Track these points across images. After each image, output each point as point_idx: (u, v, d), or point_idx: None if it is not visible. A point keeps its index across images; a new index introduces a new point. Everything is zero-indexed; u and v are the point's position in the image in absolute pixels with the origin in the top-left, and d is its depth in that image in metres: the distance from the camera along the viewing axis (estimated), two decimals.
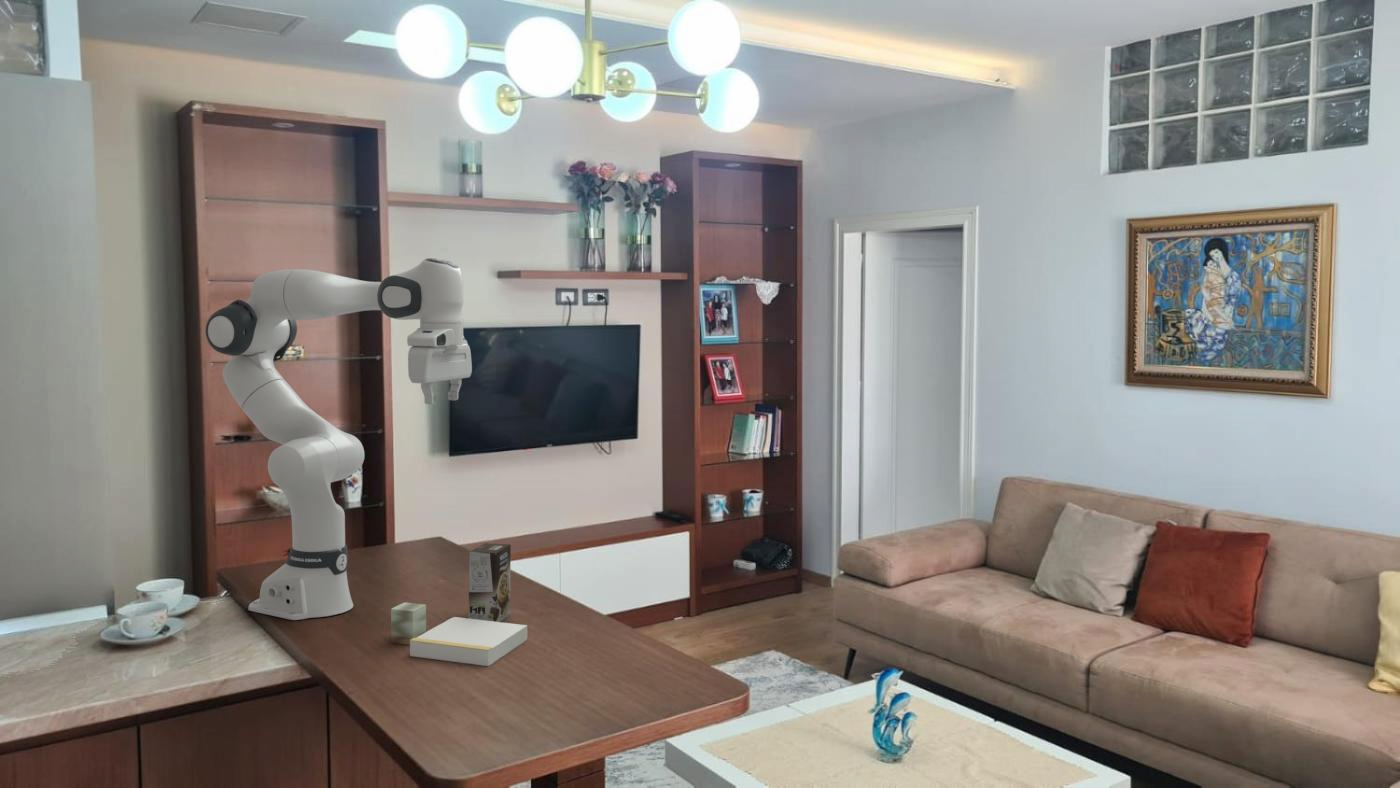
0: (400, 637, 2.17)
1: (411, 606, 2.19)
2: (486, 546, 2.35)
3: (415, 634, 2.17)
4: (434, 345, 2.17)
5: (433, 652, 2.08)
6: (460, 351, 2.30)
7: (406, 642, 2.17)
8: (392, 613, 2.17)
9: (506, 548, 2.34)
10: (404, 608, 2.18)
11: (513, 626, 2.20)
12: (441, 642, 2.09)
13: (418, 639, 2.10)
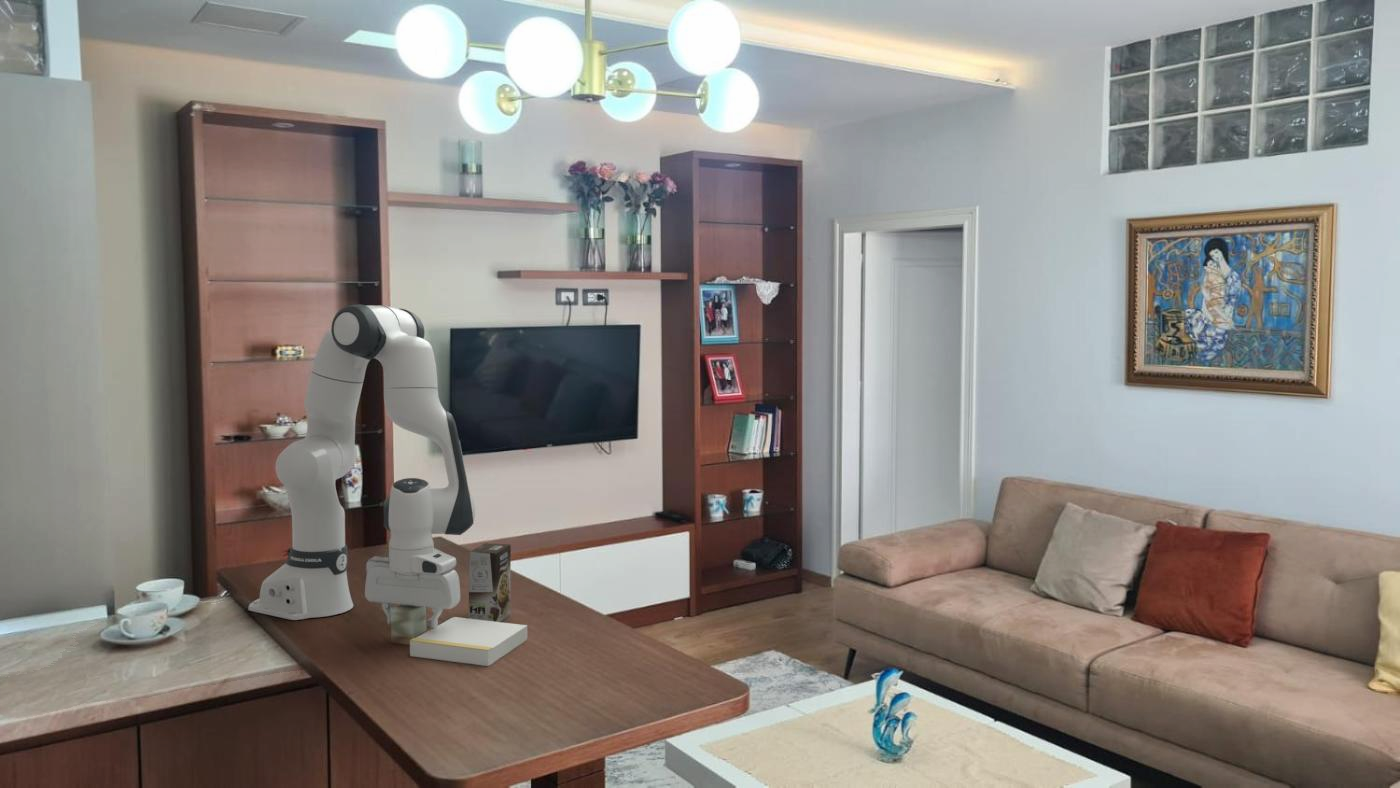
0: (400, 637, 2.17)
1: (411, 606, 2.19)
2: (486, 546, 2.34)
3: (415, 634, 2.17)
4: None
5: (433, 652, 2.08)
6: None
7: (406, 642, 2.17)
8: (392, 613, 2.17)
9: (506, 548, 2.34)
10: (404, 608, 2.18)
11: (513, 626, 2.20)
12: (441, 642, 2.09)
13: (418, 639, 2.10)
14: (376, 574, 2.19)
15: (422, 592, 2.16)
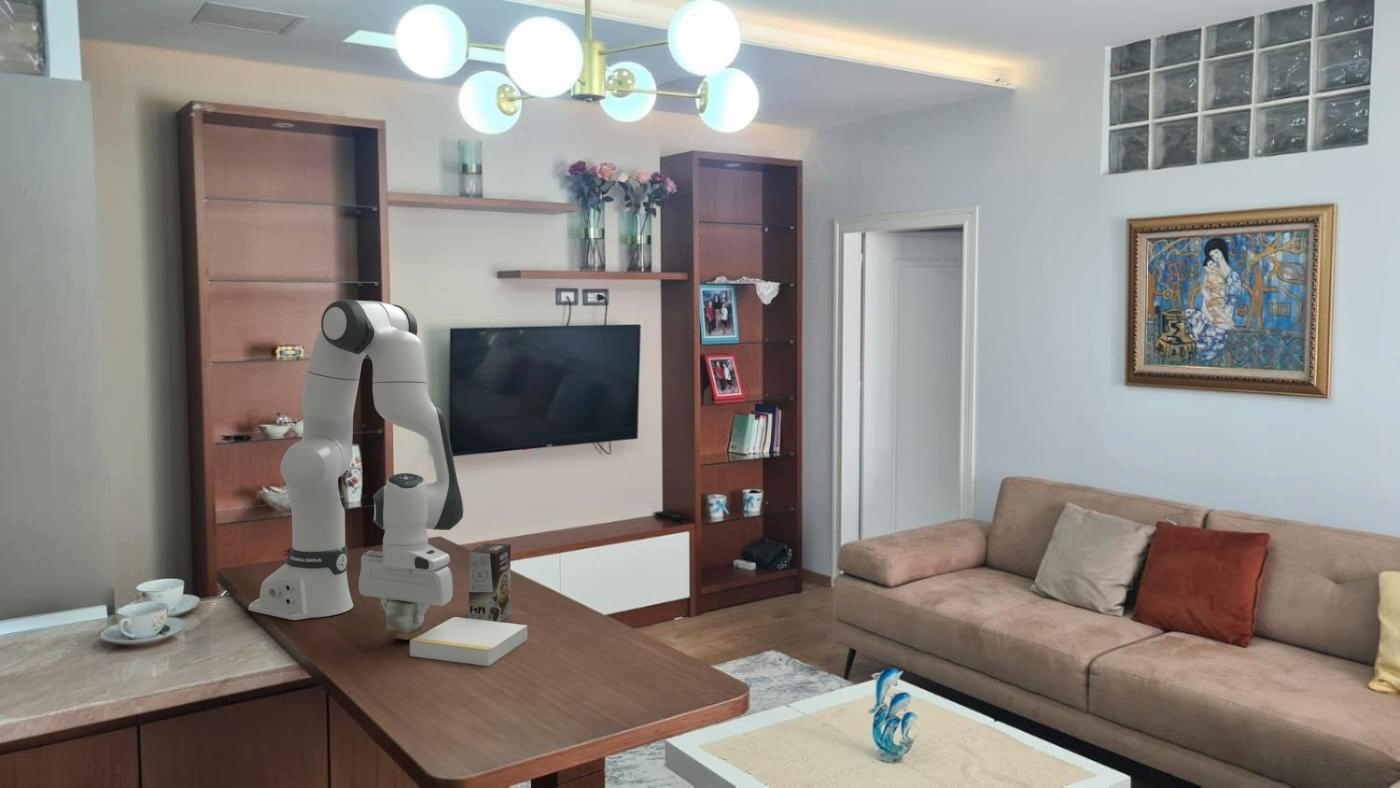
0: (395, 631, 2.17)
1: None
2: (486, 546, 2.35)
3: (410, 629, 2.17)
4: None
5: (433, 652, 2.08)
6: None
7: (401, 636, 2.16)
8: (387, 607, 2.17)
9: (506, 548, 2.34)
10: (400, 602, 2.17)
11: (513, 626, 2.20)
12: (441, 642, 2.09)
13: (418, 639, 2.10)
14: (370, 568, 2.18)
15: (415, 588, 2.15)
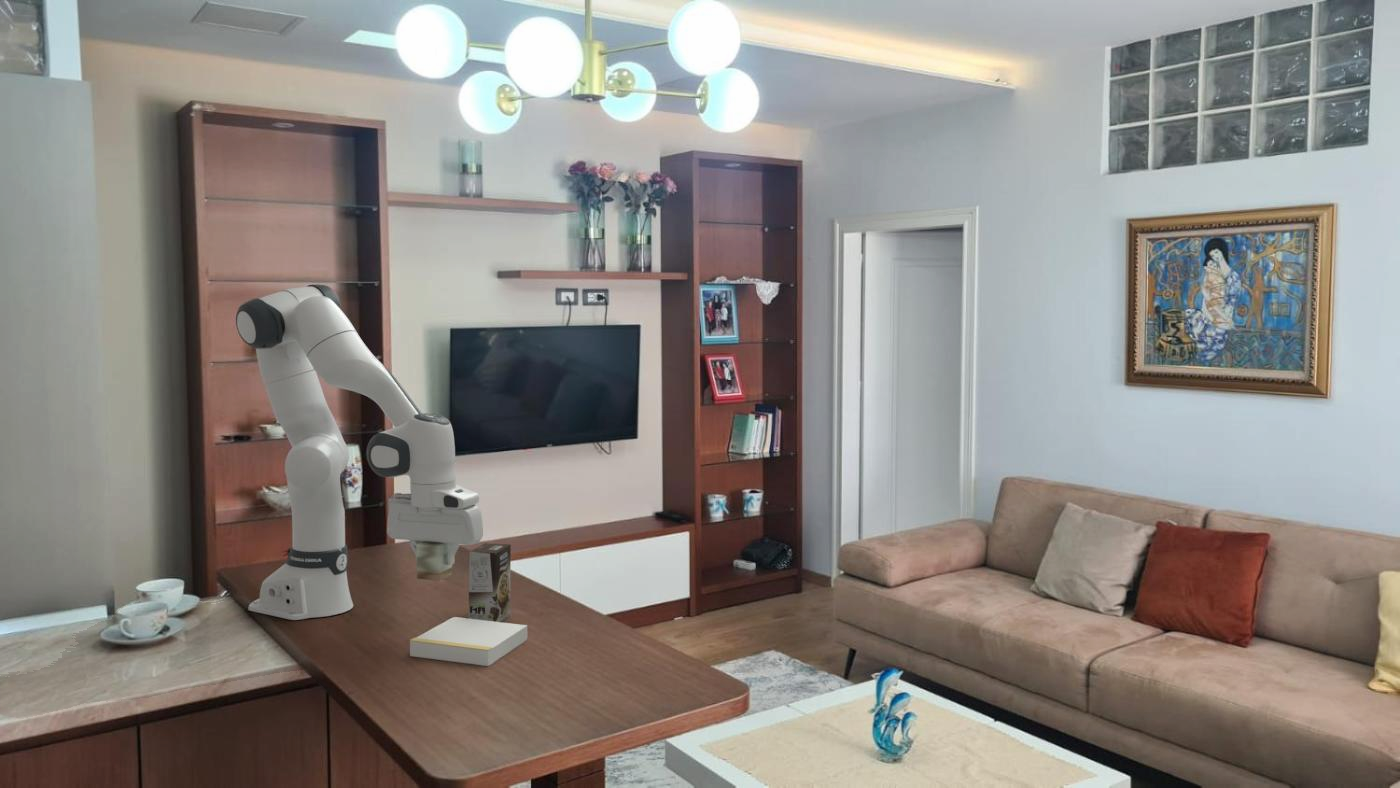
0: (426, 573, 2.13)
1: (436, 542, 2.15)
2: (486, 546, 2.35)
3: (441, 569, 2.13)
4: None
5: (433, 652, 2.08)
6: None
7: (432, 578, 2.13)
8: (417, 548, 2.14)
9: (506, 548, 2.34)
10: (430, 543, 2.14)
11: (513, 626, 2.20)
12: (441, 642, 2.09)
13: (418, 639, 2.10)
14: (398, 510, 2.15)
15: (445, 528, 2.12)
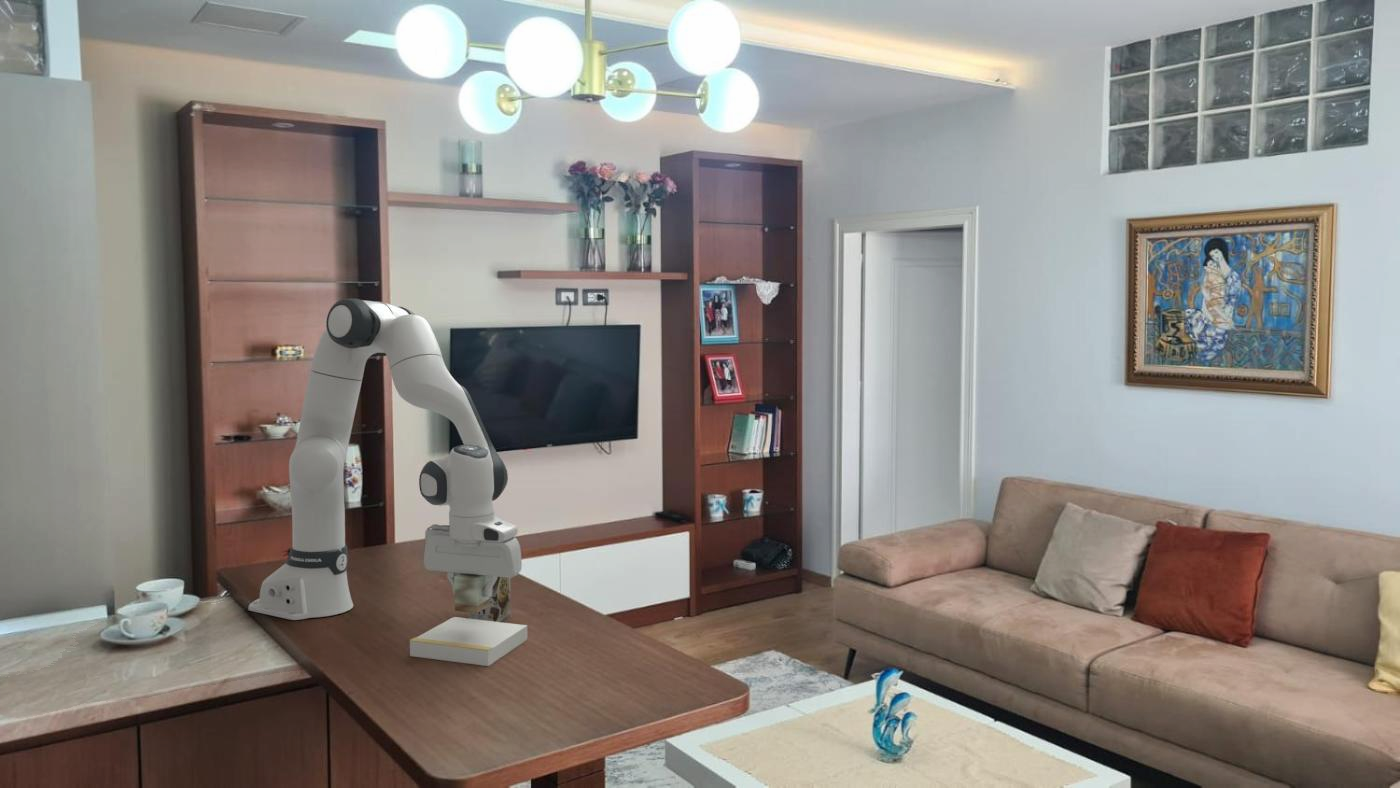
0: (464, 605, 2.13)
1: None
2: None
3: (479, 602, 2.13)
4: None
5: (433, 652, 2.08)
6: None
7: (470, 610, 2.13)
8: (455, 581, 2.13)
9: None
10: (468, 576, 2.13)
11: (513, 626, 2.20)
12: (441, 642, 2.09)
13: (418, 639, 2.10)
14: (435, 542, 2.14)
15: (483, 560, 2.12)
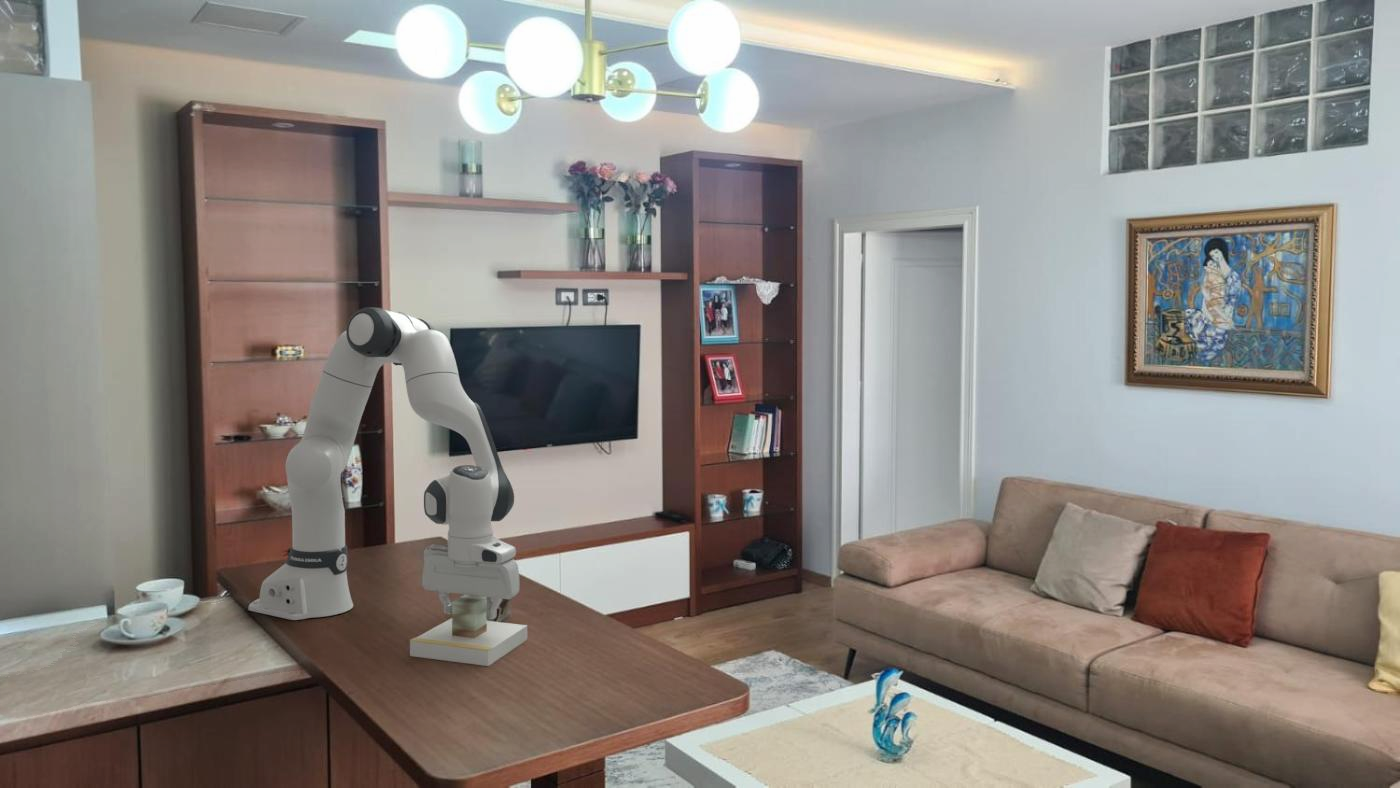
0: (461, 630, 2.13)
1: (472, 599, 2.15)
2: None
3: (476, 627, 2.13)
4: None
5: (433, 652, 2.08)
6: None
7: (467, 635, 2.13)
8: (453, 605, 2.13)
9: None
10: (466, 601, 2.13)
11: (513, 626, 2.20)
12: (441, 642, 2.09)
13: (418, 639, 2.10)
14: (434, 562, 2.14)
15: (481, 581, 2.12)
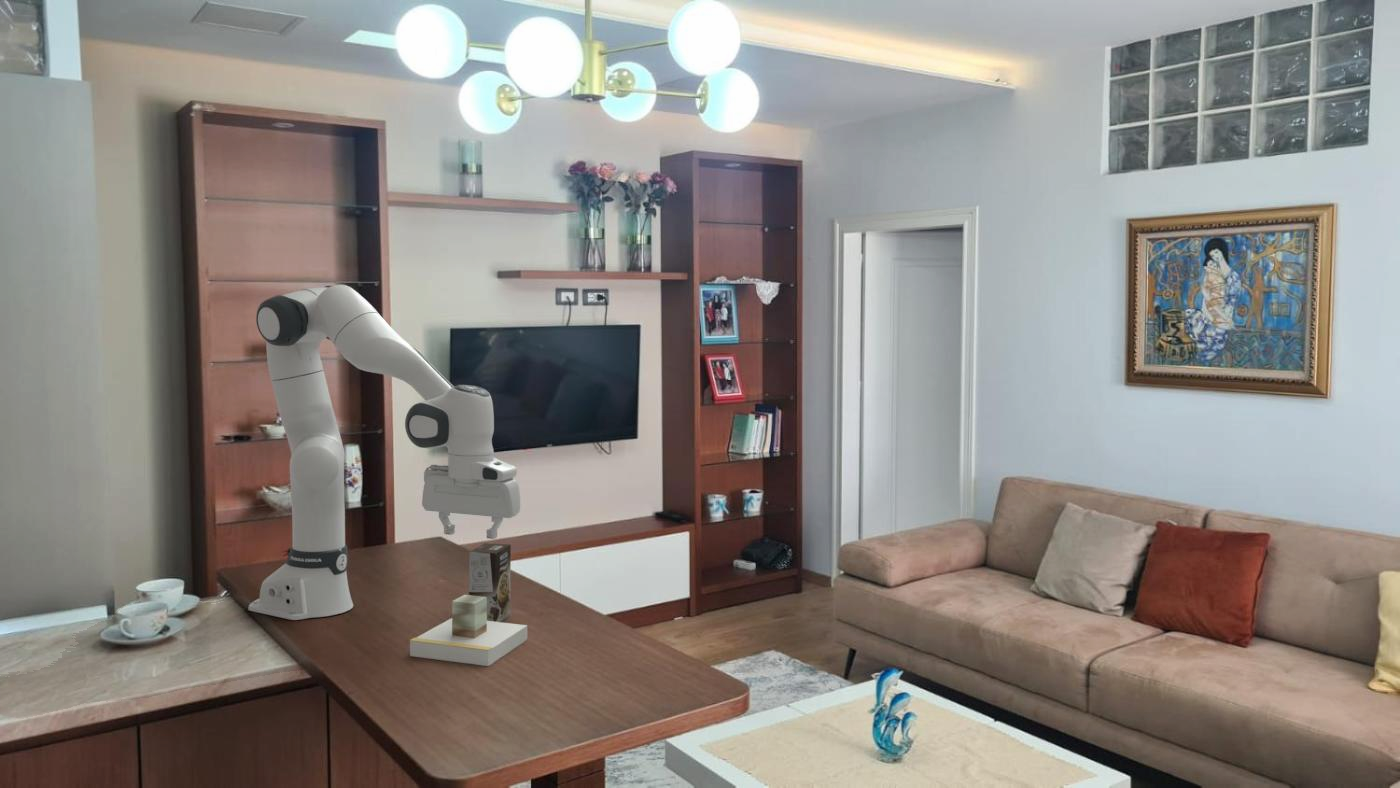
0: (461, 630, 2.13)
1: (472, 599, 2.15)
2: (486, 546, 2.35)
3: (476, 627, 2.13)
4: None
5: (433, 652, 2.08)
6: None
7: (467, 635, 2.13)
8: (453, 605, 2.13)
9: (506, 548, 2.34)
10: (466, 601, 2.13)
11: (513, 626, 2.20)
12: (441, 642, 2.09)
13: (418, 639, 2.10)
14: (434, 482, 2.13)
15: (482, 500, 2.10)
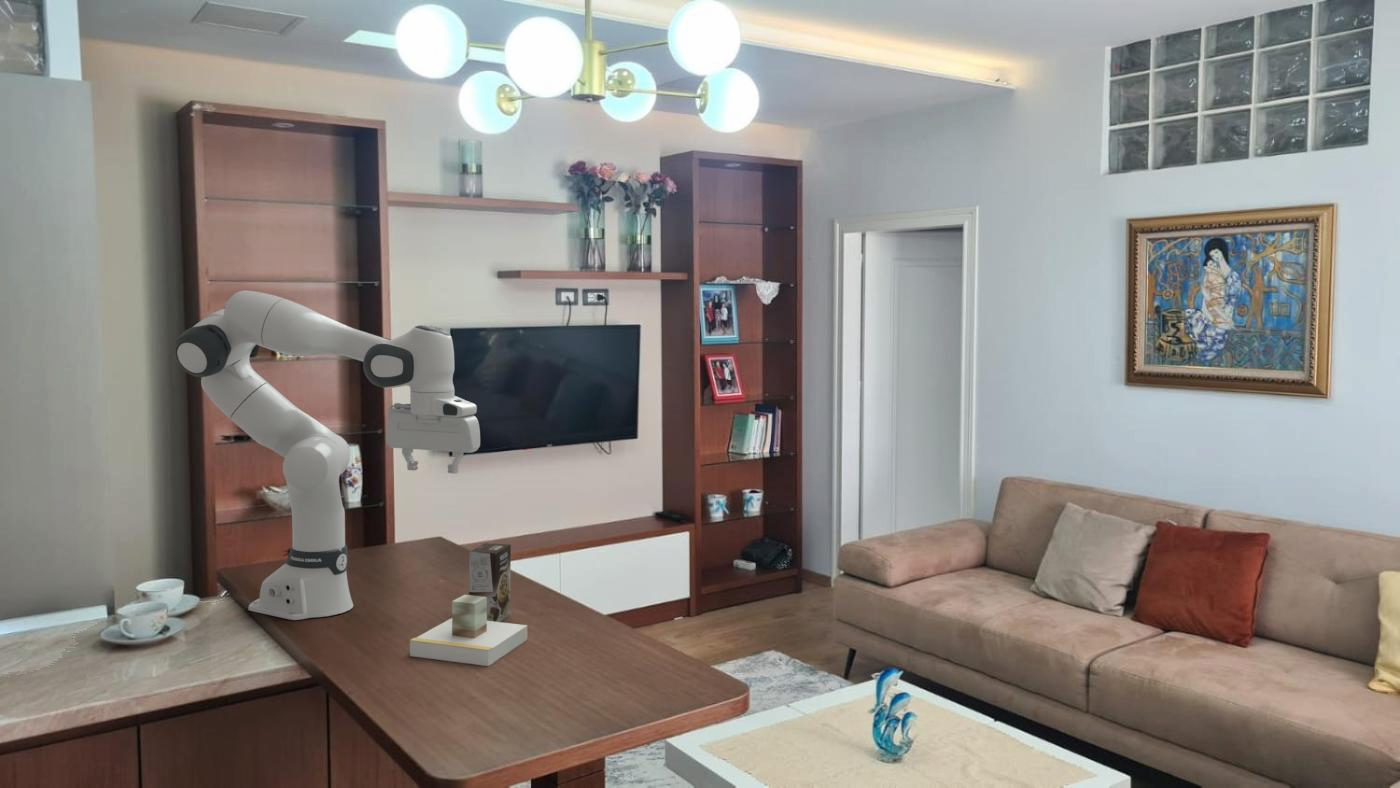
0: (461, 630, 2.13)
1: (472, 599, 2.15)
2: (486, 546, 2.35)
3: (476, 627, 2.13)
4: None
5: (433, 652, 2.08)
6: None
7: (467, 635, 2.13)
8: (453, 605, 2.13)
9: (506, 548, 2.34)
10: (466, 601, 2.13)
11: (513, 626, 2.20)
12: (441, 642, 2.09)
13: (418, 639, 2.10)
14: (397, 419, 2.21)
15: (443, 436, 2.18)
